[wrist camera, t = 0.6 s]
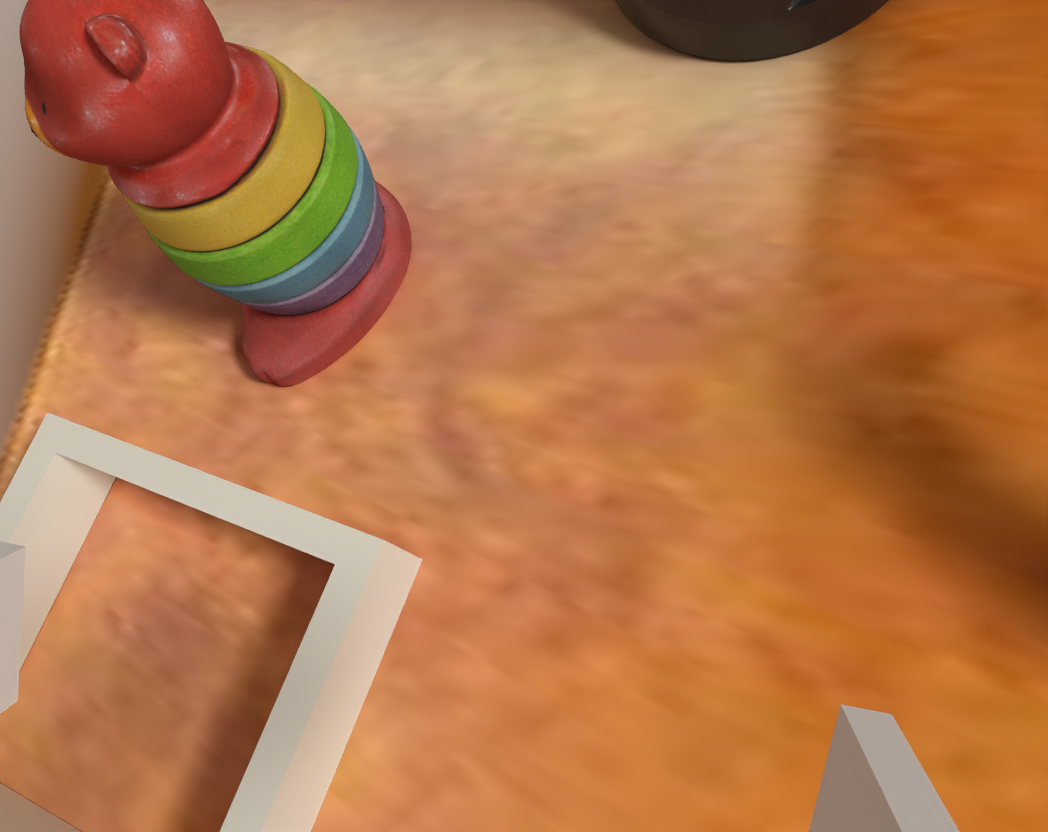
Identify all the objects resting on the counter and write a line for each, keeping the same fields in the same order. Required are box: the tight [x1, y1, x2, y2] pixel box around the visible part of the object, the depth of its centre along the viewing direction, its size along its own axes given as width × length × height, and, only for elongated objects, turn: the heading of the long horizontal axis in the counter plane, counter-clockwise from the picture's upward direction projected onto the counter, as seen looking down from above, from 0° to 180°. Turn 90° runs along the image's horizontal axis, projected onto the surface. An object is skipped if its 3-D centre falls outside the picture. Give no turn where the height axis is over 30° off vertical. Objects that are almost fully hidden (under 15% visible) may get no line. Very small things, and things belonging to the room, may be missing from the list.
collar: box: [0, 413, 423, 832], centre depth 38 cm, size 17×18×4 cm
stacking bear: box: [20, 0, 411, 387], centre depth 37 cm, size 11×10×18 cm
